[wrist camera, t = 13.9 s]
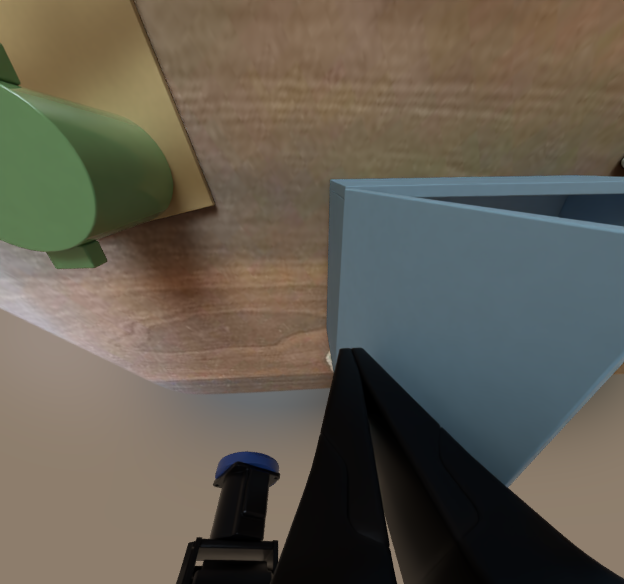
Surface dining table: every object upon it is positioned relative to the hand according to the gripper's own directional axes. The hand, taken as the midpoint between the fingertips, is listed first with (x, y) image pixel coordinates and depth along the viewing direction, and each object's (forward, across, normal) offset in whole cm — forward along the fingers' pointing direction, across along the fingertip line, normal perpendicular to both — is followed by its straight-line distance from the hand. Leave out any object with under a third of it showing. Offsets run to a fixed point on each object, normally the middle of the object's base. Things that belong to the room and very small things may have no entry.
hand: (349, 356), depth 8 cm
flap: (-1, -2, 0) cm, 2 cm away
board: (+9, +14, -23) cm, 29 cm away
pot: (+8, +11, -6) cm, 15 cm away
